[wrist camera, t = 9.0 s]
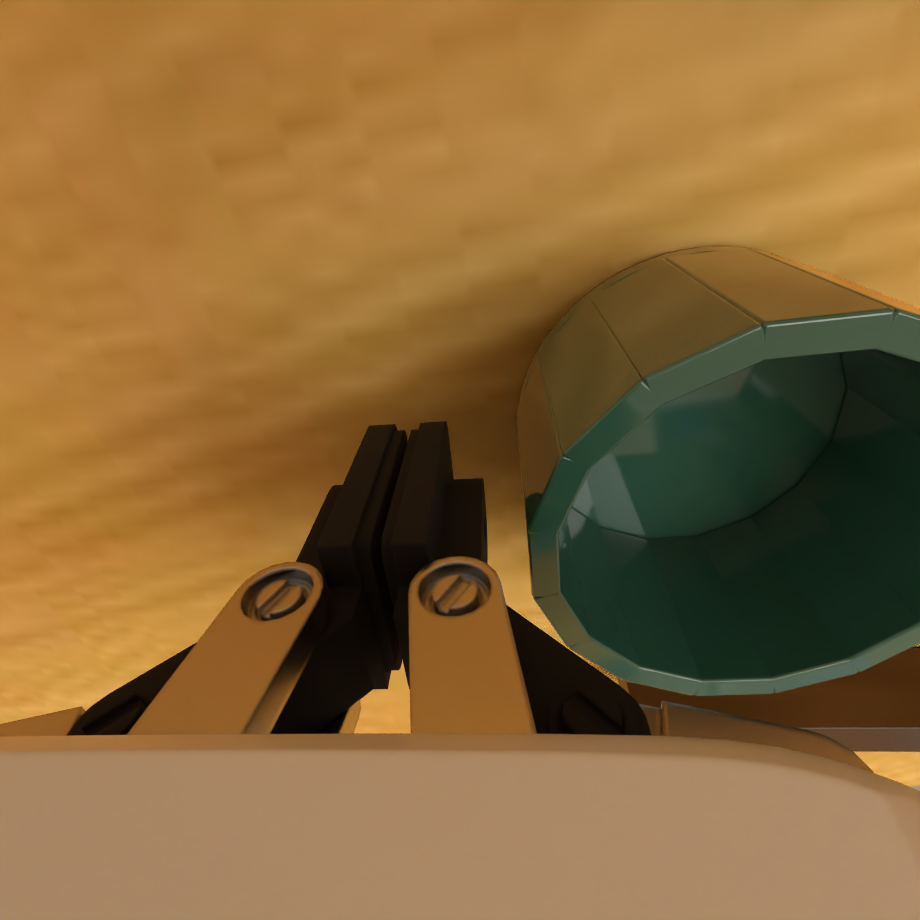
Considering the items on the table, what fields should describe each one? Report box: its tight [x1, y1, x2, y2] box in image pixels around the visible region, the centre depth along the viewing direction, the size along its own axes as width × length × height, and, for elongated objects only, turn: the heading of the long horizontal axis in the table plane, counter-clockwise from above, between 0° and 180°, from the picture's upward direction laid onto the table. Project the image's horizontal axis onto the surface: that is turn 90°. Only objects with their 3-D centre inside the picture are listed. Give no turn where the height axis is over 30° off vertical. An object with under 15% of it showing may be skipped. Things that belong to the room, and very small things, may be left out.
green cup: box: [516, 246, 920, 696], centre depth 10 cm, size 7×7×5 cm
